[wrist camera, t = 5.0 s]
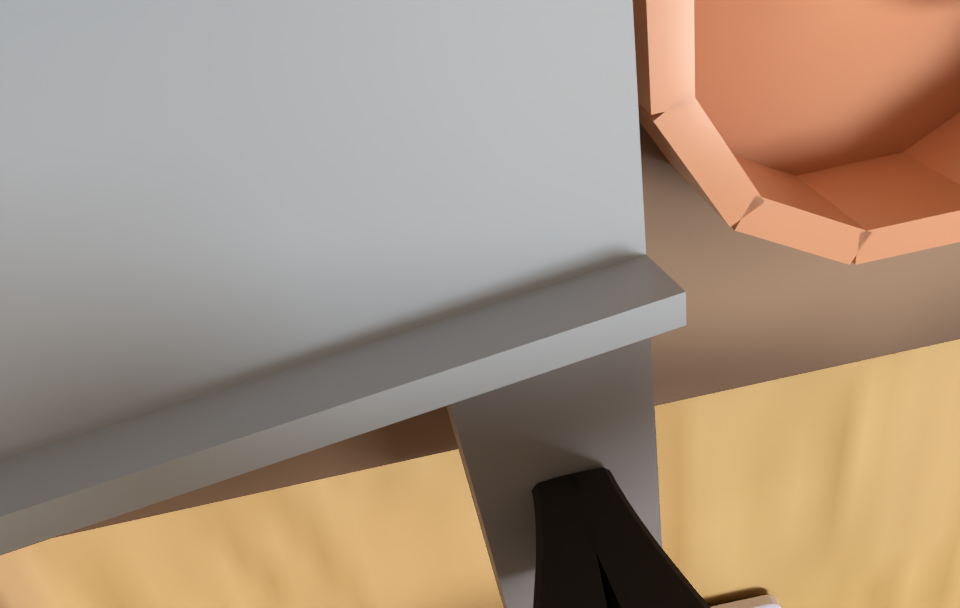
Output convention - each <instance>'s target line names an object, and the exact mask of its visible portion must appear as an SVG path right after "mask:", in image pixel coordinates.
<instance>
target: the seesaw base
mask: <svg viewBox="0 0 960 608" xmlns="http://www.w3.org/2000/svg"><path fill="white" fill-rule="evenodd" d="M639 129H640V148H641V166H642V185H643V204H644V223H645V241H646V255H647V256H648V257H649V258H650V259H651V260H652V261H654V262H655V263H656V264H657V265H658V266H659V267H660V268H661V269H662V270H663V271H664V272H665V273H666V274H667V275H668V276H670V277H671V278H672V279H673V280H674V281H675V282H676V283H677V284H678V285H679V286H680V287H681V288H682V289H683V290H684V291H686V325H685V326H682V327H679V328H676V329H673V330H670V331H667V332H665V333H662V334H659V335H656V336H653V337H651V354H652V372H653V391H654V406H656V405H661V404H665V403H670V402H674V401H679V400H683V399H688V398H693V397H697V396H702V395H706V394H711V393H715V392H720V391H725V390H729V389H734V388H738V387H743V386H747V385H752V384H756V383H761V382H766V381H770V380H775V379H779V378H784V377H788V376H793V375H798V374H802V373H807V372H811V371H816V370H820V369H825V368H829V367H834V366H839V365H843V364H848V363H852V362H857V361H861V360H866V359H871V358H875V357H880V356H884V355H889V354H893V353H898V352H902V351H907V350H912V349H916V348H921V347H925V346H930V345H934V344H939V343H944V342H948V341H953V340H957V339H960V242H957V243H953V244H948V245H944V246H939V247H935V248H930V249H925V250H921V251H916V252H912V253H907V254H903V255H898V256H894V257H889V258H885V259H880V260H875V261H871V262H866V263H862V264H857V265H855V264H854V263H852V262H851V263H850V265H848V264H845V263H842V262H838V261H835V260H832V259H828V258H825V257H822V256H818V255H815V254H812V253H808V252H805V251H801V250H798V249H795V248H791V247H788V246H785V245H781V244H778V243H775V242H771V241H768V240H765V239H761V238H758V237H755V236H751V235H748V234H745V233H741V232H738V231H735V230H734V229H733V228H732V227H729V226H728V225H727V224H726V223H725V221H724V220H723V219H722V218H721V217H720V216H719V215H718V214H717V213H716V212H715V211H714V210H713V209H712V208H711V206H710V205H709V204H708V203H707V202H706V201H705V200H704V199H703V198H702V197H701V196H700V195H699V194H698V193H697V191H696V190H695V189H694V188H693V187H692V186H691V185H690V184H689V183H688V182H687V181H686V180H685V179H684V178H683V176H682V175H681V174H680V173H679V172H678V171H677V170H676V169H675V168H674V167H673V166H672V165H671V164H670V162H669V161H668V160H667V158H666V157H665V156H664V154H663V153H662V152H661V150H660V149H659V147H658V146H657V145H656V143H655V142H654V141H653V139H652V138H651V137H650V135H649V134H648V133H647V131H646V130H645V128H644V127H643V126H642V124H641V123H640V122H639ZM455 449H458V445H457V442H456V438H455V435H454V431H453V428H452V424H451V420H450V417H449V413H448V410H447V406H444V407H441V408H438V409H435V410H432V411H429V412H426V413H423V414H420V415H417V416H414V417H411V418H408V419H405V420H402V421H399V422H396V423H393V424H390V425H387V426H384V427H381V428H378V429H375V430H372V431H369V432H366V433H363V434H360V435H357V436H354V437H351V438H349V439H346V440H343V441H340V442H337V443H334V444H331V445H328V446H325V447H322V448H319V449H316V450H313V451H310V452H307V453H304V454H301V455H298V456H295V457H292V458H289V459H286V460H283V461H280V462H277V463H274V464H271V465H268V466H265V467H262V468H259V469H256V470H253V471H250V472H247V473H244V474H241V475H238V476H235V477H232V478H229V479H226V480H223V481H220V482H217V483H214V484H211V485H208V486H205V487H202V488H199V489H196V490H193V491H191V492H188V493H185V494H182V495H179V496H176V497H173V498H170V499H167V500H164V501H161V502H158V503H155V504H152V505H149V506H146V507H143V508H140V509H137V510H134V511H131V512H128V513H125V514H122V515H119V516H116V517H113V518H110V519H107V520H104V521H101V522H98V523H95V524H92V525H89V526H86V527H83V528H80V529H77V530H74V531H71V532H68V533H65V534H62V535H59V536H63V535H68V534H72V533H77V532H81V531H86V530H90V529H95V528H100V527H104V526H109V525H113V524H118V523H122V522H127V521H131V520H136V519H141V518H145V517H150V516H154V515H159V514H163V513H168V512H173V511H177V510H182V509H186V508H191V507H195V506H200V505H204V504H209V503H214V502H218V501H223V500H227V499H232V498H236V497H241V496H246V495H250V494H255V493H259V492H264V491H268V490H273V489H277V488H282V487H287V486H291V485H296V484H300V483H305V482H309V481H314V480H319V479H323V478H328V477H332V476H337V475H341V474H346V473H350V472H355V471H360V470H364V469H369V468H373V467H378V466H382V465H387V464H392V463H396V462H401V461H405V460H410V459H414V458H419V457H423V456H428V455H433V454H437V453H442V452H446V451H451V450H455ZM56 537H58V536H56ZM53 538H54V537H53Z"/></svg>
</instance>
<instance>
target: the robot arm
mask: <svg viewBox="0 0 960 608" xmlns="http://www.w3.org/2000/svg"><path fill="white" fill-rule="evenodd" d="M531 491H532V496H533V501H534V511H535V524H536V567H535V583H534V599H533V608H781V606H780V604H779V602H778V600H777V599H776V598H775V597H774V596H771V595H761V596H757V597H752V598H748V599H743V600H739V601H734V602H729V603H725V604H720V605H716V606H711V607H710V606H709V605H708V604H707V603H706V602H705V601H704V599H703V598H702V597H701V596H700V595H699V593H698V592H697V591H696V590H695V589H694V588H693V586H692V585H691V584H690V583H689V581H688V580H687V579H686V578H685V576H684V575H683V574H682V573H681V572H680V570H679V569H678V568H677V567H676V565H675V564H674V563H673V562H672V560H671V559H670V558H669V557H668V555H667V554H666V553H665V552H664V550H663V549H662V548H661V546H660V545H659V544H658V542H657V541H656V540H655V538H654V537H653V536H652V534H651V533H650V532H649V530H648V529H647V527H646V526H645V525H644V523H643V522H642V520H641V519H640V518H639V516H638V515H637V513H636V512H635V510H634V509H633V507H632V506H631V504H630V503H629V501H628V500H627V498H626V497H625V495H624V493H623V492H622V490H621V488H620V487H619V485H618V484H617V482H616V480H615V478H614V476H613V475H612V473H611V471H610V470H608V469H606V468H604V467H601V468H596V469H591V470H587V471H582V472H578V473H573V474H569V475H564V476H559V477H555V478H552V479H549V480H546V481H543V482H540V483H537V484H536V485H535V486H534V488H533V489H532V490H531Z"/></svg>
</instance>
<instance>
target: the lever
mask: <svg viewBox="0 0 960 608" xmlns="http://www.w3.org/2000/svg"><path fill="white" fill-rule="evenodd" d="M685 325H686V291H684V290H683V289H682V288H681V287H680V286H679V285H678V284H677V283H676V282H675V281H674V280H673V279H672V278H671V277H670V276H668V275H667V274H666V273H665V272H664V271H663V270H662V269H661V268H660V267H659V266H658V265H657V264H656V263H655V262H654V261H652V260H651V259H650V258H649V257H648V256H647V255H646V241H645V223H644V204H643V185H642V166H641V148H640V129H639V110H638V91H637V73H636V54H635V35H634V17H633V0H0V555H3V554H6V553H9V552H12V551H15V550H18V549H21V548H24V547H27V546H30V545H32V544H35V543H38V542H41V541H44V540H47V539H50V538H53V537H56V536H59V535H62V534H65V533H68V532H71V531H74V530H77V529H80V528H83V527H86V526H89V525H92V524H95V523H98V522H101V521H104V520H107V519H110V518H113V517H116V516H119V515H122V514H125V513H128V512H131V511H134V510H137V509H140V508H143V507H146V506H149V505H152V504H155V503H158V502H161V501H164V500H167V499H170V498H173V497H176V496H179V495H182V494H185V493H188V492H191V491H193V490H196V489H199V488H202V487H205V486H208V485H211V484H214V483H217V482H220V481H223V480H226V479H229V478H232V477H235V476H238V475H241V474H244V473H247V472H250V471H253V470H256V469H259V468H262V467H265V466H268V465H271V464H274V463H277V462H280V461H283V460H286V459H289V458H292V457H295V456H298V455H301V454H304V453H307V452H310V451H313V450H316V449H319V448H322V447H325V446H328V445H331V444H334V443H337V442H340V441H343V440H346V439H349V438H351V437H354V436H357V435H360V434H363V433H366V432H369V431H372V430H375V429H378V428H381V427H384V426H387V425H390V424H393V423H396V422H399V421H402V420H405V419H408V418H411V417H414V416H417V415H420V414H423V413H426V412H429V411H432V410H435V409H438V408H441V407H444V406H447V410H448V413H449V417H450V420H451V424H452V428H453V431H454V435H455V438H456V442H457V445H458V449H459V452H460V456H461V459H462V463H463V466H464V470H465V473H466V477H467V480H468V484H469V487H470V491H471V494H472V498H473V501H474V505H475V508H476V512H477V516H478V519H479V523H480V526H481V530H482V533H483V537H484V540H485V544H486V547H487V551H488V554H489V558H490V561H491V565H492V568H493V572H494V575H495V579H496V582H497V586H498V589H499V593H500V596H501V600H502V603H503V606H504V608H533V599H534V583H535V567H536V524H535V511H534V501H533V496H532V491H531V490H532V489H533V488H534V486H535V485H536V484H537V483H540V482H543V481H546V480H549V479H552V478H555V477H559V476H564V475H569V474H573V473H578V472H582V471H587V470H591V469H596V468H601V467H604V468H606V469H608V470H610V471H611V473H612V475H613V476H614V478H615V480H616V482H617V484H618V485H619V487H620V488H621V490H622V492H623V493H624V495H625V497H626V498H627V500H628V501H629V503H630V504H631V506H632V507H633V509H634V510H635V512H636V513H637V515H638V516H639V518H640V519H641V520H642V522H643V523H644V525H645V526H646V527H647V529H648V530H649V532H650V533H651V534H652V536H653V537H654V538H655V540H656V541H657V542H658V544H659V545H660V546H661V548H662V541H661V522H660V504H659V485H658V466H657V447H656V429H655V410H654V391H653V372H652V354H651V337H653V336H656V335H659V334H662V333H665V332H667V331H670V330H673V329H676V328H679V327H682V326H685Z"/></svg>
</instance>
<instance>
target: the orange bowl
mask: <svg viewBox="0 0 960 608" xmlns="http://www.w3.org/2000/svg"><path fill="white" fill-rule="evenodd" d="M633 17H634V35H635V54H636V73H637V91H638V110H639V122H640V123H641V124H642V126H643V127H644V128H645V130H646V131H647V133H648V134H649V135H650V137H651V138H652V139H653V141H654V142H655V143H656V145H657V146H658V147H659V149H660V150H661V152H662V153H663V154H664V156H665V157H666V158H667V160H668V161H669V162H670V164H671V165H672V166H673V167H674V168H675V169H676V170H677V171H678V172H679V173H680V174H681V175H682V176H683V178H684V179H685V180H686V181H687V182H688V183H689V184H690V185H691V186H692V187H693V188H694V189H695V190H696V191H697V193H698V194H699V195H700V196H701V197H702V198H703V199H704V200H705V201H706V202H707V203H708V204H709V205H710V206H711V208H712V209H713V210H714V211H715V212H716V213H717V214H718V215H719V216H720V217H721V218H722V219H723V220H724V221H725V223H726V224H727V225H728V226H729V227H732V228H733V229H734V230H735V231H738V232H741V233H745V234H748V235H751V236H755V237H758V238H761V239H765V240H768V241H771V242H775V243H778V244H781V245H785V246H788V247H791V248H795V249H798V250H801V251H805V252H808V253H812V254H815V255H818V256H822V257H825V258H828V259H832V260H835V261H838V262H842V263H845V264H848V265H850V263H851V262H852V263H854V264H855V265H857V264H862V263H866V262H871V261H875V260H880V259H885V258H889V257H894V256H898V255H903V254H907V253H912V252H916V251H921V250H925V249H930V248H935V247H939V246H944V245H948V244H953V243H957V242H960V0H633Z"/></svg>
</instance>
